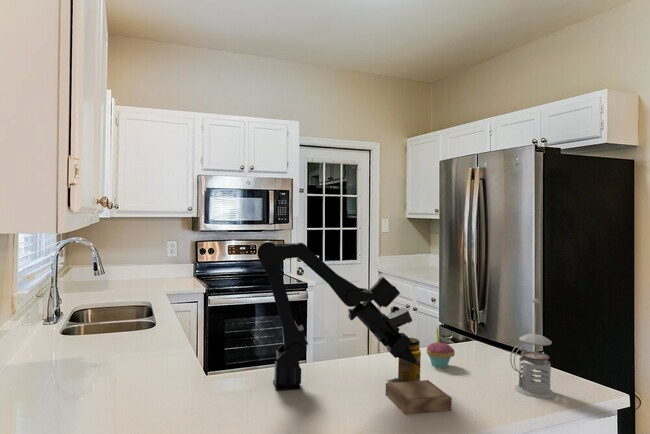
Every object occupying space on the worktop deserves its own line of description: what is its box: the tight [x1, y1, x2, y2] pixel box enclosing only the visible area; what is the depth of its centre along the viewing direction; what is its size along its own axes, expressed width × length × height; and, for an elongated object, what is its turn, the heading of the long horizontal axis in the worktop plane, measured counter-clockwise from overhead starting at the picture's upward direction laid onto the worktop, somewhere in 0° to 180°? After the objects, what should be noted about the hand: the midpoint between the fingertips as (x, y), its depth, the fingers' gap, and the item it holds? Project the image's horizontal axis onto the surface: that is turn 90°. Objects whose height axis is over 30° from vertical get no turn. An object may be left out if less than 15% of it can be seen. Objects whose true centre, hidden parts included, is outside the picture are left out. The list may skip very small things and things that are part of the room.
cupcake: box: [426, 327, 456, 369], centre depth 142 cm, size 9×8×12 cm
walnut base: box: [385, 379, 453, 415], centre depth 112 cm, size 12×12×3 cm
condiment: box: [385, 337, 422, 383], centre depth 126 cm, size 7×8×12 cm
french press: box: [509, 298, 555, 399], centre depth 122 cm, size 10×12×25 cm
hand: (411, 358), depth 126 cm, fingers closed on condiment, 6 cm apart
